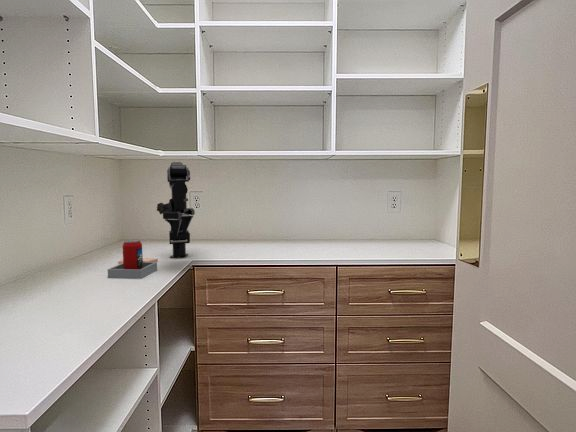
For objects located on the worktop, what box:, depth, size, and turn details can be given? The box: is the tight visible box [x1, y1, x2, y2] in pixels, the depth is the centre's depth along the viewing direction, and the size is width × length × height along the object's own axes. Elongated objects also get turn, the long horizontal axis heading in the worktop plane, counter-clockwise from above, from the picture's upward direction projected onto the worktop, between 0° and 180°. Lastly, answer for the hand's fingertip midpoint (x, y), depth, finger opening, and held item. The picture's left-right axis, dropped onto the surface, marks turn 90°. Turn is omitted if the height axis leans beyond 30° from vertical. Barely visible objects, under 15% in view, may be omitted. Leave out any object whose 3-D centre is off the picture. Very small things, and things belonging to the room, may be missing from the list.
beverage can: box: [122, 239, 144, 270], centre depth 138 cm, size 7×7×12 cm
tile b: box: [143, 257, 159, 263], centre depth 158 cm, size 6×6×1 cm
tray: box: [107, 261, 158, 280], centre depth 139 cm, size 13×13×3 cm
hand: (180, 234), depth 150 cm, fingers open, 9 cm apart
